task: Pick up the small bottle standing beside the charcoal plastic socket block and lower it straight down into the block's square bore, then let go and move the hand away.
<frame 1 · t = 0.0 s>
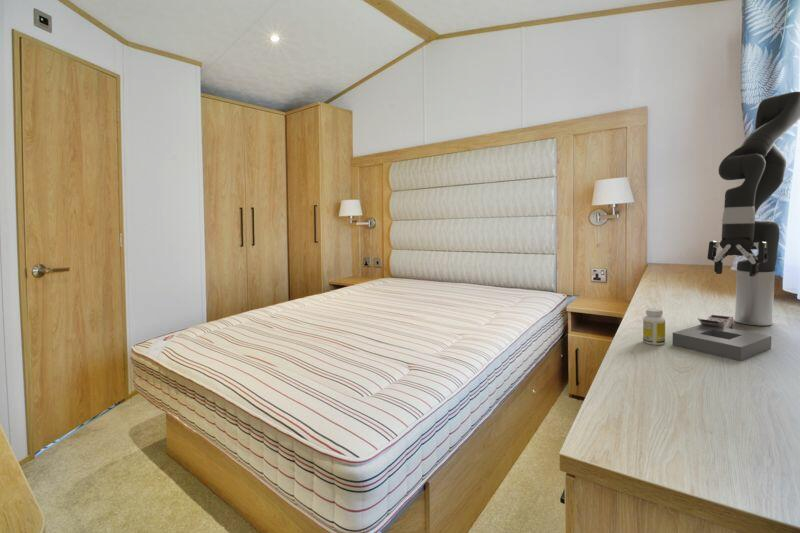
hand: (735, 275, 121), 17 cm above the dresser, tool pointing down, fingers open, 8 cm apart
socket block: (720, 346, 109), on the dresser
mobile phone: (716, 330, 123), on the dresser, touching socket block
supplement bottle: (653, 343, 115), on the dresser
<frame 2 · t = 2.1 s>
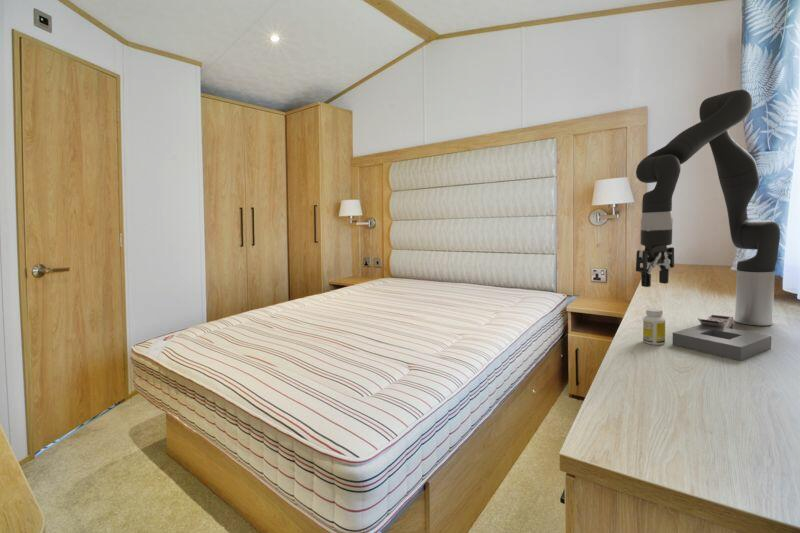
hand: (654, 284, 113), 17 cm above the dresser, tool pointing down, fingers open, 8 cm apart
nothing on the dresser moved.
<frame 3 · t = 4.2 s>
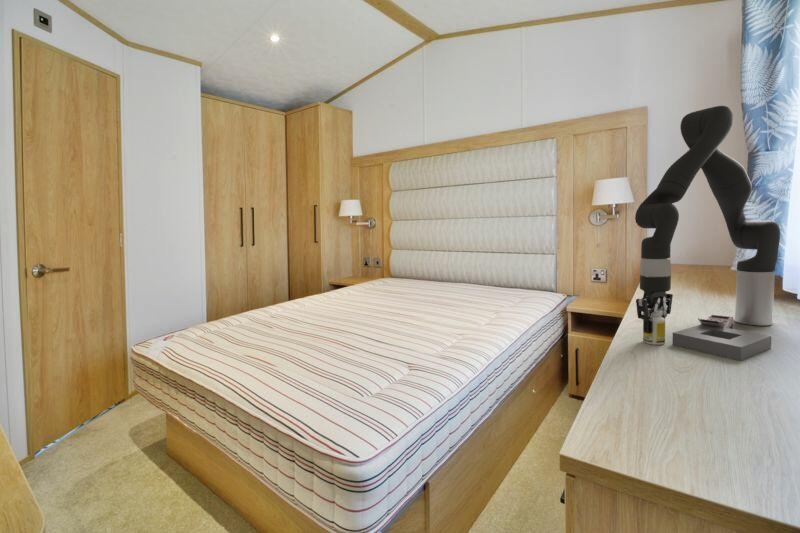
hand: (654, 330, 115), 4 cm above the dresser, tool pointing down, fingers closed on supplement bottle, 5 cm apart
supplement bottle: (653, 343, 115), on the dresser, touching gripper
everything else where it was.
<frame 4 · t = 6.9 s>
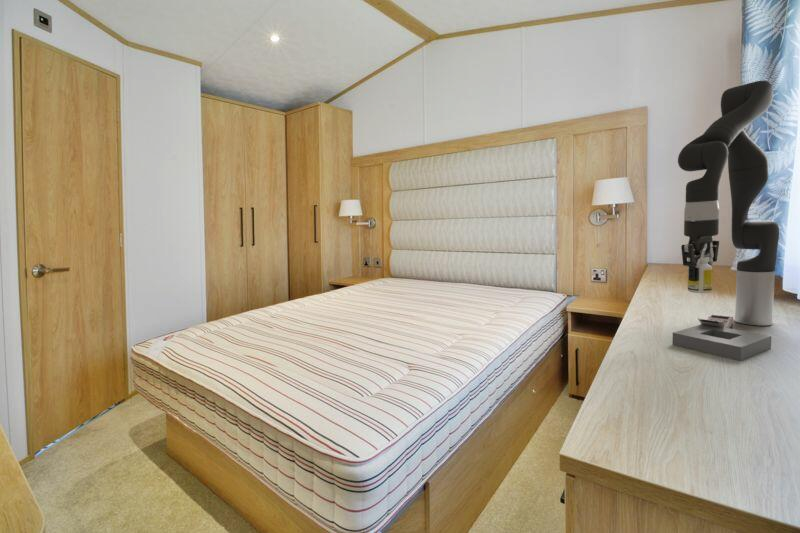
hand: (699, 279, 109), 19 cm above the dresser, tool pointing down, fingers closed on supplement bottle, 5 cm apart
supplement bottle: (699, 292, 110), point 15 cm above the dresser, touching gripper
everything else where it was.
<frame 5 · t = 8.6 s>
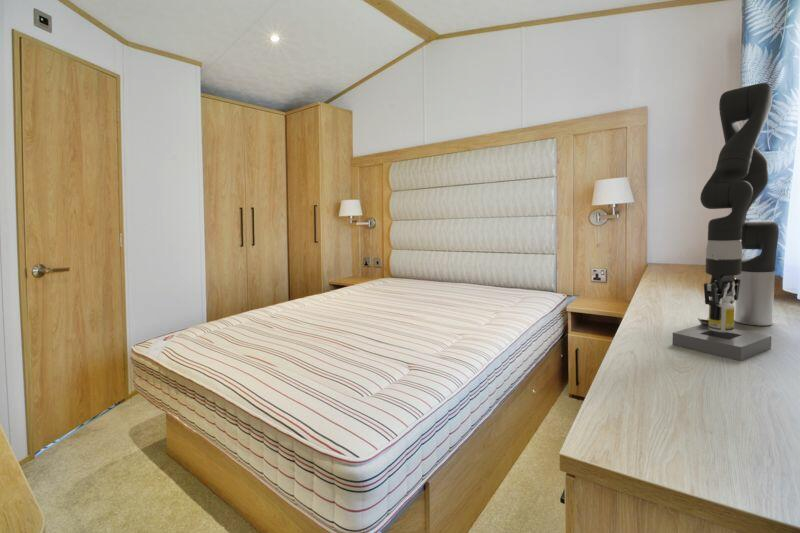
hand: (721, 317, 108), 8 cm above the dresser, tool pointing down, fingers closed on supplement bottle, 5 cm apart
supplement bottle: (720, 331, 108), point 4 cm above the dresser, touching gripper
everything else where it was.
when the fingers open (4 cm above the dresser, at t = 9.9 s): supplement bottle stays where it is, on the dresser.
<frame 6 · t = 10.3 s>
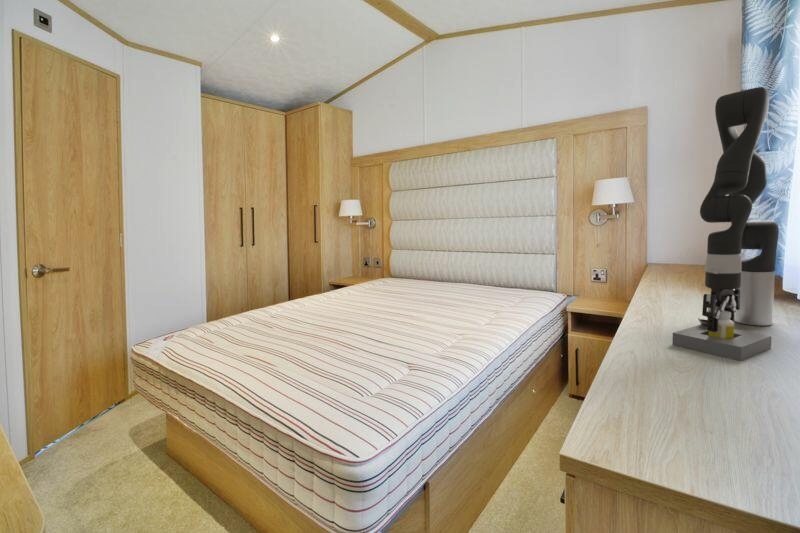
hand: (720, 328, 108), 5 cm above the dresser, tool pointing down, fingers open, 8 cm apart
supplement bottle: (720, 347, 109), on the dresser
everything else where it was.
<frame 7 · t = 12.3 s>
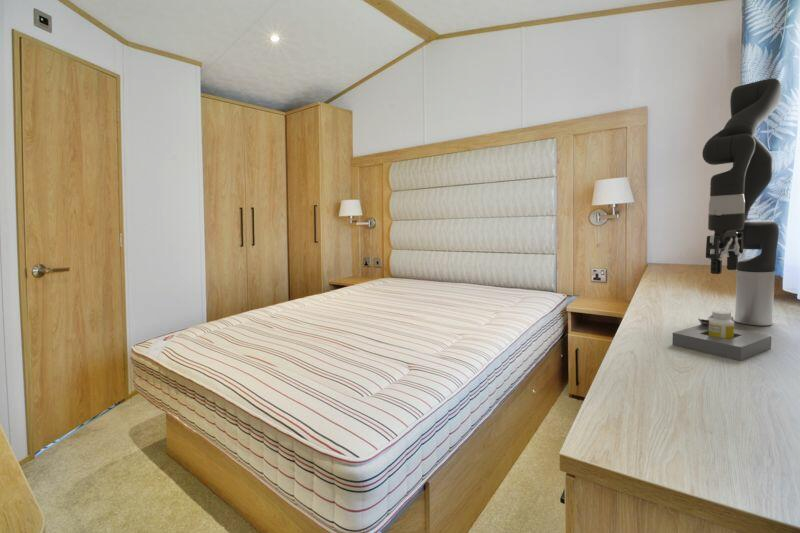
hand: (724, 271, 108), 21 cm above the dresser, tool pointing down, fingers open, 8 cm apart
nothing on the dresser moved.
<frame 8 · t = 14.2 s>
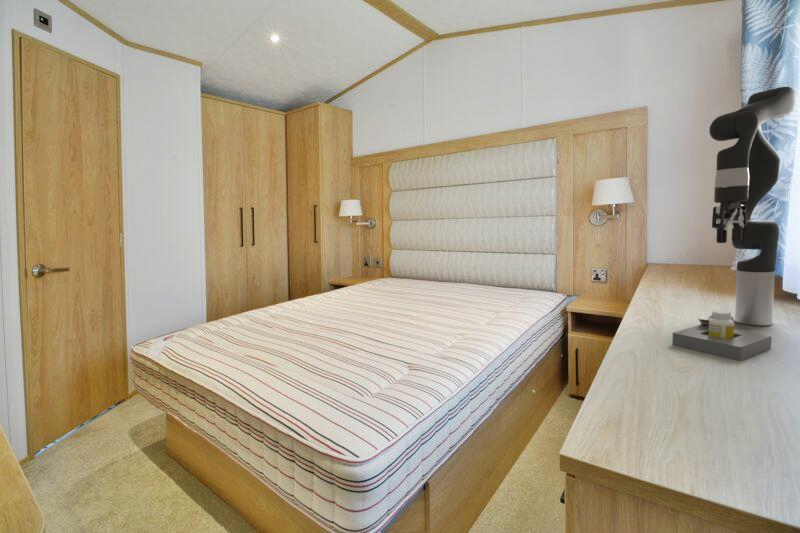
hand: (729, 241, 115), 28 cm above the dresser, tool pointing down, fingers open, 8 cm apart
nothing on the dresser moved.
at the end: supplement bottle 0.2 cm off-centre on the socket block, point 0.0 cm above the socket block's base; supplement bottle tilted 0°; the gripper is holding nothing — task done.
